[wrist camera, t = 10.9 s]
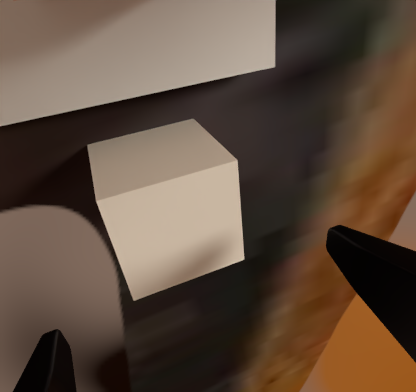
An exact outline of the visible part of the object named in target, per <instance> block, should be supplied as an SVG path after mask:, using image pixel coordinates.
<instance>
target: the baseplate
mask: <svg viewBox="0 0 416 392" xmlns="http://www.w3.org/2000/svg"><path fill="white" fill-rule="evenodd" d="M272 67H275V0H17V1H13V0H0V126H4V125H8V124H13V123H18V122H22V121H27V120H32V119H36V118H41V117H46V116H50V115H55V114H59V113H64V112H69V111H73V110H78V109H83V108H87V107H92V106H96V105H101V104H106V103H110V102H115V101H120V100H124V99H129V98H134V97H138V96H143V95H147V94H152V93H157V92H161V91H166V90H171V89H175V88H180V87H184V86H189V85H194V84H198V83H203V82H208V81H212V80H217V79H221V78H226V77H231V76H235V75H240V74H245V73H249V72H254V71H259V70H263V69H268V68H272Z"/></svg>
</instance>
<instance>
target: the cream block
mask: <svg viewBox="0 0 416 392" xmlns="http://www.w3.org/2000/svg"><path fill="white" fill-rule="evenodd" d="M87 147H88V153H89V159H90V166H91V172H92V178H93V185H94V191H95V198H96V202H97V205H98V208H99V210H100V213H101V216H102V218H103V221H104V223H105V226H106V229H107V231H108V234H109V237H110V239H111V242H112V245H113V247H114V250H115V252H116V255H117V258H118V260H119V263H120V266H121V268H122V271H123V274H124V276H125V279H126V281H127V284H128V287H129V289H130V292H131V295H132V297H133V300H137V299H140V298H142V297H145V296H148V295H150V294H153V293H156V292H159V291H161V290H164V289H167V288H169V287H172V286H175V285H177V284H180V283H183V282H185V281H188V280H191V279H193V278H196V277H199V276H201V275H204V274H207V273H209V272H212V271H215V270H218V269H220V268H223V267H226V266H228V265H231V264H234V263H236V262H239V261H242V260H244V249H243V234H242V219H241V205H240V190H239V176H238V161H237V159H236V158H235V157H233V156H232V155H231V154H230V153H229V152H228V151H227V150H226V149H225V148H224V147H223V146H222V145H221V144H220V143H219V142H218V141H216V140H215V139H214V138H213V137H212V136H211V135H210V134H209V133H208V132H207V131H206V130H205V129H204V128H203V127H202V126H201V125H200V124H198V123H197V122H196V121H195V120H194V119H190V120H186V121H182V122H178V123H174V124H170V125H166V126H162V127H158V128H154V129H150V130H146V131H142V132H137V133H133V134H129V135H125V136H121V137H117V138H113V139H109V140H105V141H101V142H97V143H93V144H89V145H87Z"/></svg>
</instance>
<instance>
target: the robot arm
mask: <svg viewBox="0 0 416 392" xmlns="http://www.w3.org/2000/svg"><path fill="white" fill-rule="evenodd" d="M326 248H327V251H328V253H329V254H330V256H331V257H332V259H333V260H334V262H335V263H336V265H337V266H338V267H339V269H340V270H341V272H342V273H343V275H344V276H345V278H346V279H347V281H348V282H349V283H350V285H351V286H352V287H353V289H354V290H355V291H356V292H357V294H358V295H359V296H360V297H361V298H362V300H363V301H364V302H365V303H366V304H367V306H368V307H369V308H370V309H371V310H372V311H373V313H374V314H375V315H376V316H377V317H378V318H379V320H380V321H381V322H382V323H383V324H384V326H385V327H386V328H387V329H388V330H389V331H390V333H391V334H392V335H393V336H394V337H395V339H396V340H397V341H398V342H399V343H400V345H401V346H402V347H403V348H404V349H405V350H406V351H407V353H408V354H409V355H410V356H411V358H412V359H413V360H414V361H415V362H416V251H413V250H411V249H408V248H405V247H402V246H399V245H396V244H393V243H391V242H388V241H385V240H382V239H379V238H376V237H374V236H371V235H368V234H365V233H362V232H359V231H356V230H354V229H351V228H348V227H345V226H342V225H337V226H334V227H332V228H330V229H329V230H328V234H327V241H326ZM13 392H76V384H75V377H74V369H73V362H72V354H71V349H70V346H69V344H68V342H67V341H66V339H65V338H64V336H63V335H62V333H61V331H60V330H58V329H56V330H53V331H50V332H47V333H45V334H43V335H42V337H41V338H40V340H39V343H38V344H37V346H36V348H35V350H34V352H33V354H32V356H31V358H30V360H29V361H28V364H27V365H26V368H25V369H24V371H23V373H22V375H21V377H20V379H19V381H18V383H17V385H16V387H15V389H14V391H13Z"/></svg>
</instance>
